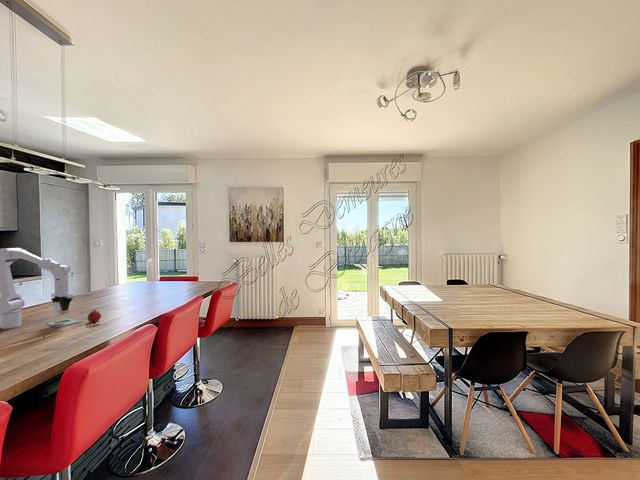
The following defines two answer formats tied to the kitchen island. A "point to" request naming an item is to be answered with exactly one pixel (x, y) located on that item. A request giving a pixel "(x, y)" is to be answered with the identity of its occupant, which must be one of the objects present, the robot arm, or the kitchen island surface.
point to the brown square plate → (34, 328)
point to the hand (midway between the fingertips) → (62, 310)
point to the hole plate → (64, 323)
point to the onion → (94, 316)
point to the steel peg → (59, 308)
